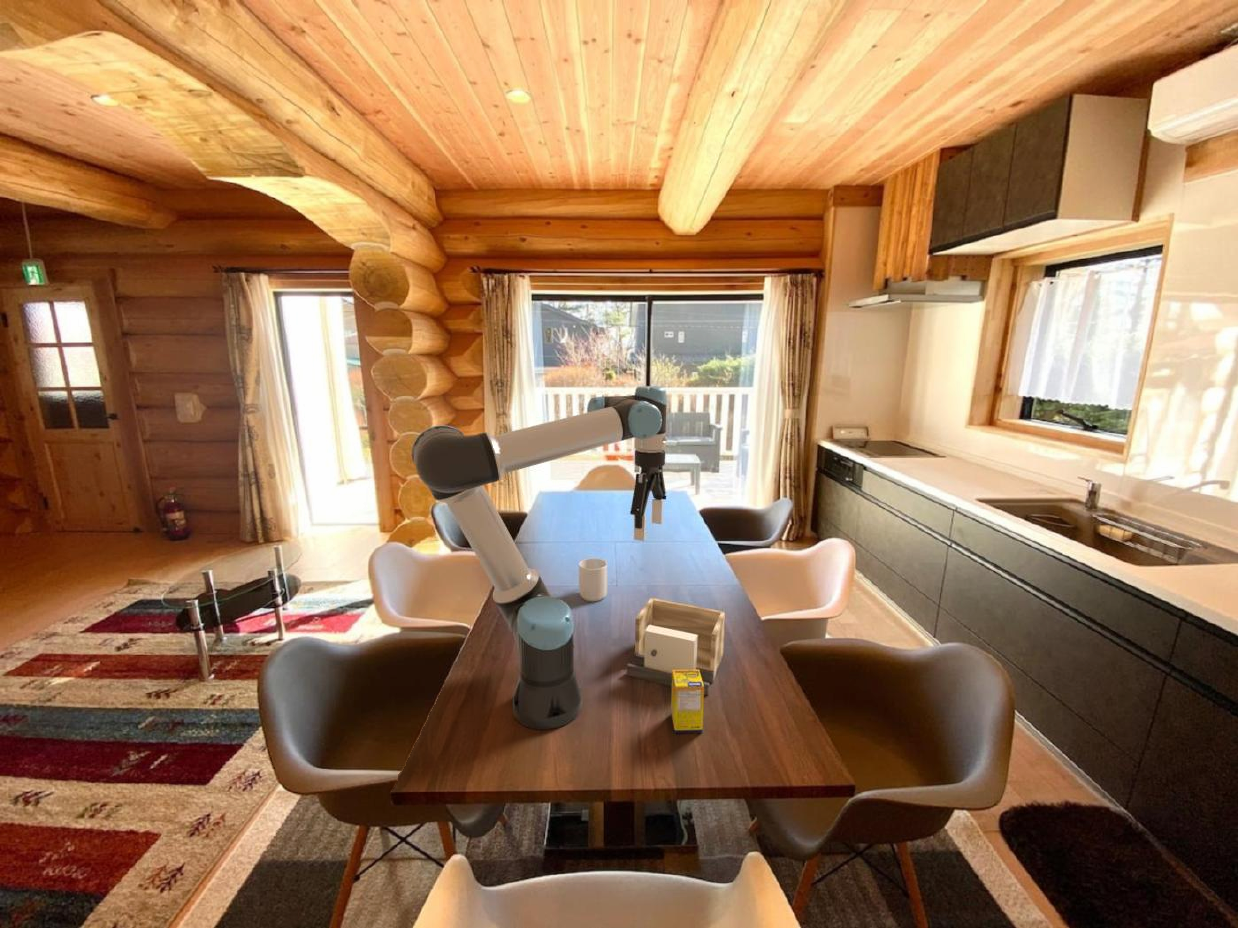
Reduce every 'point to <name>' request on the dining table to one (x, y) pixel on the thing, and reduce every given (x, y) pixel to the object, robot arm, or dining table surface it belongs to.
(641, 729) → the dining table surface
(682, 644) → the door
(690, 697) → the supplement box
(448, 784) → the dining table surface
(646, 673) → the carcass
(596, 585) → the mug
